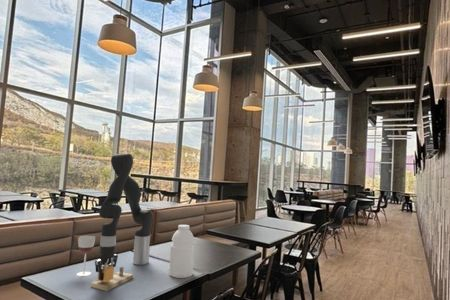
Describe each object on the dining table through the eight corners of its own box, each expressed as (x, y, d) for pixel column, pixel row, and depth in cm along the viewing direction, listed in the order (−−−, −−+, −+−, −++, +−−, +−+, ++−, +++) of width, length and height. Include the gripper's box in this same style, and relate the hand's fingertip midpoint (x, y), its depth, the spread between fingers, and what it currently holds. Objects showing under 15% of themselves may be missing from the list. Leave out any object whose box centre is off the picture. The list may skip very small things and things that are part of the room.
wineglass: (75, 271, 172) (79, 235, 174) (92, 270, 175) (95, 235, 177) (74, 276, 165) (77, 239, 166) (92, 275, 168) (95, 238, 169)
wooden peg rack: (118, 274, 171) (119, 263, 172) (133, 278, 168) (133, 267, 168) (90, 286, 153) (91, 274, 153) (106, 290, 149) (107, 278, 150)
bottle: (176, 280, 169) (179, 228, 171) (164, 272, 179) (167, 224, 181) (197, 275, 178) (200, 226, 179) (184, 268, 188) (187, 222, 190)
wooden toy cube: (104, 277, 158) (105, 265, 159) (113, 279, 156) (113, 267, 157) (97, 280, 154) (98, 268, 154) (105, 282, 152) (106, 269, 152)
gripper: (112, 240, 164) (109, 272, 163) (91, 246, 151) (88, 281, 150) (123, 242, 161) (120, 275, 160) (103, 248, 148) (100, 284, 147)
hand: (105, 278), depth 155 cm, fingers closed on wooden toy cube, 5 cm apart
